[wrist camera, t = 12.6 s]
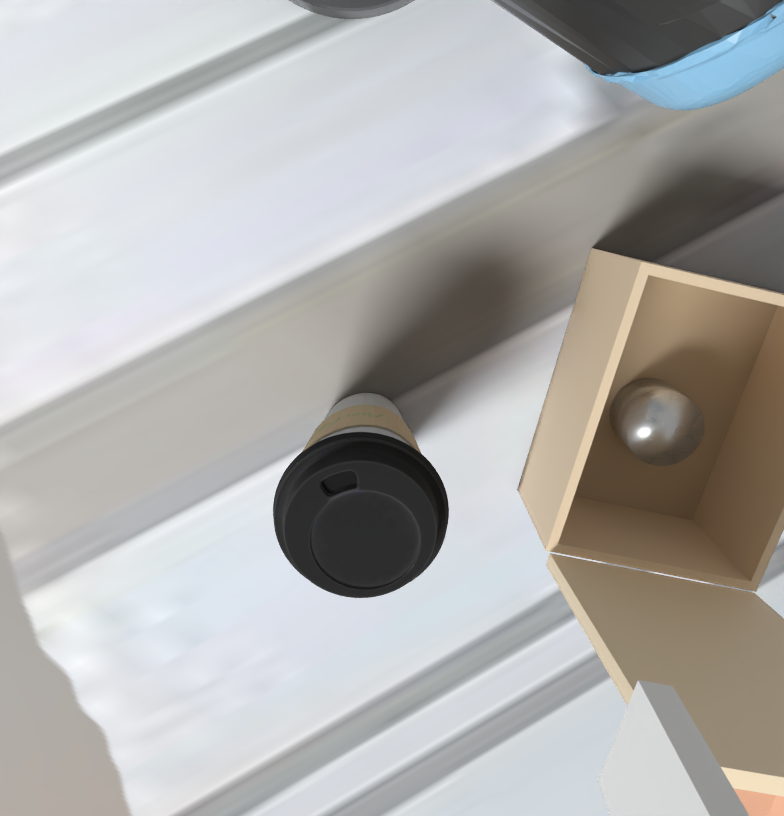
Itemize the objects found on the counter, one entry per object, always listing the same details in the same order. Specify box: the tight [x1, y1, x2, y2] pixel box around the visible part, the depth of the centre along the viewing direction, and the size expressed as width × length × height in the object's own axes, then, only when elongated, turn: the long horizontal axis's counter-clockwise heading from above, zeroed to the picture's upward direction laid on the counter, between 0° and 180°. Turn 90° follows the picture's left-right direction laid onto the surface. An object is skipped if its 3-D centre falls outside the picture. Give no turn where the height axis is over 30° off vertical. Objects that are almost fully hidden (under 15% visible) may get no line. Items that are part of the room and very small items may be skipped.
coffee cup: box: [273, 393, 449, 598], centre depth 42 cm, size 9×9×15 cm
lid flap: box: [546, 553, 784, 816], centre depth 35 cm, size 17×14×9 cm
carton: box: [517, 248, 784, 591], centre depth 44 cm, size 18×14×9 cm
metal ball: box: [609, 378, 705, 466], centre depth 46 cm, size 5×5×4 cm
